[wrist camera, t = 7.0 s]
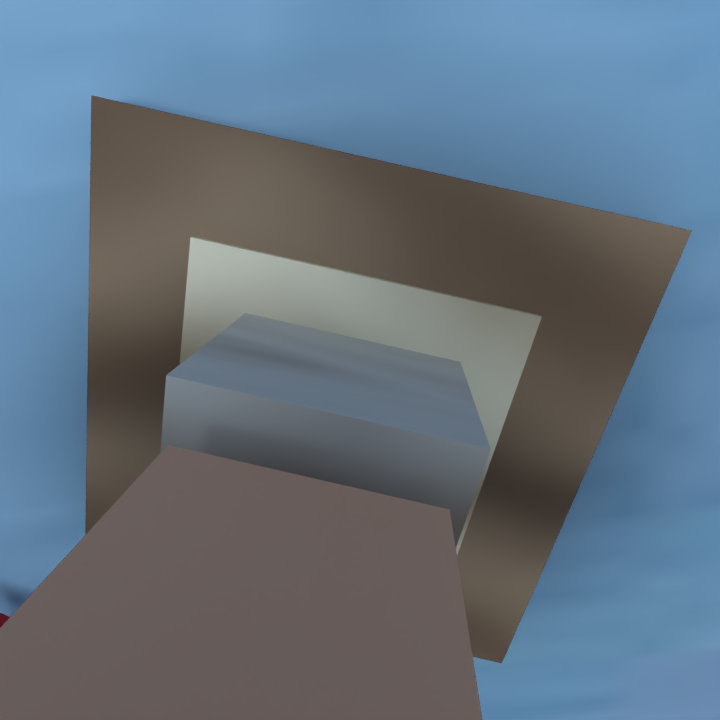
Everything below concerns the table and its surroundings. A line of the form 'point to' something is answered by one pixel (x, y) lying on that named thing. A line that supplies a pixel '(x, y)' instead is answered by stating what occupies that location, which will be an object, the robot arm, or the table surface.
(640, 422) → the table surface
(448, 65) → the table surface
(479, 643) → the base board
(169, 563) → the terracotta block
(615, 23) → the table surface
